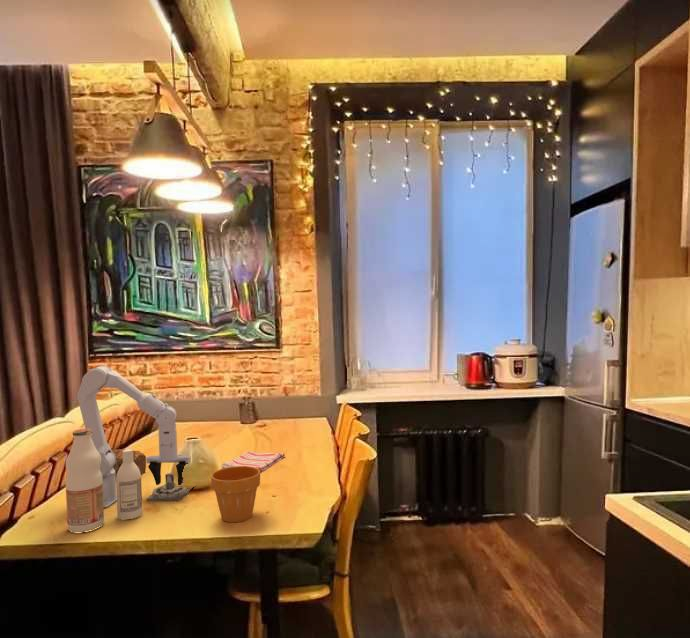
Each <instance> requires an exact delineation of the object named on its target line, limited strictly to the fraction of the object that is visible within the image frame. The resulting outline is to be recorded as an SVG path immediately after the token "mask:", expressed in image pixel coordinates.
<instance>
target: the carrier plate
mask: <svg viewBox="0 0 690 638" xmlns="http://www.w3.org/2000/svg"><path fill="white" fill-rule="evenodd" d="M175 485H176V484H175ZM164 486H166V483H164V484H163V485H159V486H158V487H155V488H153V489H152V492H151V494H150V495H149V496H148V497H146V500H145V501H146V502H180V501H181V500H182V499H183V498H184V497H185V496H186V495H187V494H189V493H190V492H191V491H190V489H187V488H186V487H183V488H181V490H180V491H178V492H174V493H169V494H160V493H159V489H160V488H162V487H164ZM189 491H190V492H189ZM179 500H180V501H179Z"/></svg>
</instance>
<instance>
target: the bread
mask: <svg viewBox="0 0 690 638" xmlns="http://www.w3.org/2000/svg"><path fill="white" fill-rule="evenodd" d="M123 450H126V449H122V448H121V449H119V448H118V449H111V451H112V452H113V453H114V454H115V456H116V463H115V465H114V466H113V468H114V470H115V476H117V473H118V470H119V468H120V467H121V465H122V463H123V454H122V451H123ZM146 458H147V456H146V455H145V454H144V453H143V452H141V451H140V450H133V462H134V463H135V464H136V465H137V467H138V468H139V470H140V473H141V475H143V474H144V473H145V472H146V470H147V469H146V468H147V462H146Z"/></svg>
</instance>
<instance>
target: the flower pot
mask: <svg viewBox="0 0 690 638" xmlns="http://www.w3.org/2000/svg"><path fill="white" fill-rule="evenodd" d="M210 479H211V481H210V483H211V489H212V491H213V492H214V493H215V497H216V501H217V504H218V505H217V506H218V510H219V513H220V517H221V520H223V521H225V522H227V523H240V522H245V521H247V520H249V519H251V518H252V516H253V512H254V507H255V504H256V503H255V501H256V496H257V491H258V487H259V486H260V485H261V472H260V470H259V469H257V468H255V467H249V466H235V467H228V468H223V469H222V468H220V469H218V470H215V471H214V472H212V473H211V475H210Z"/></svg>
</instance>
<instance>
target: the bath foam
mask: <svg viewBox="0 0 690 638" xmlns="http://www.w3.org/2000/svg"><path fill="white" fill-rule="evenodd" d="M133 451H134V449H133V448H129V449H126V450H123V451H122V454H123V463H122V465H121V467H120V468H119V470H118V473H117V476H116V496H117V501H116V510H117V513H116V514H117V519H118V518H119V519H118V520H120V519H132V518H135V519H137V518H136V517H138V518H139V516H140V517H141V516H142V515H143V493H142V491H143V489H142V474H141V473H140V470H139V468H138V467H137V465H136V464H135V463H134V462H133ZM132 520H133V519H132Z"/></svg>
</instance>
